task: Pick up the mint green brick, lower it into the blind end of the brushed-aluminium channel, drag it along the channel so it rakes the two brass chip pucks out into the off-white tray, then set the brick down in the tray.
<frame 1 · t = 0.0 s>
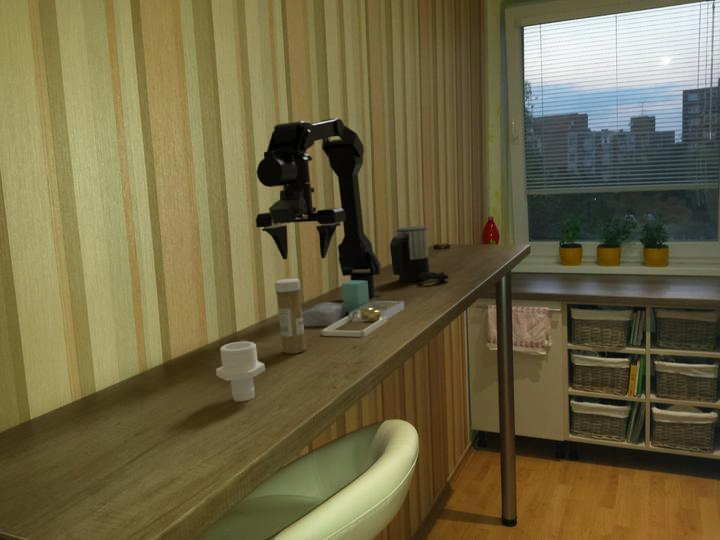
hand: (304, 258, 137), 15 cm above the countertop, fingers open, 9 cm apart
sprinkles bottle: (294, 352, 121), on the countertop
pipe fitting: (244, 398, 98), on the countertop
stone block: (319, 324, 144), on the countertop
channel: (377, 316, 144), on the countertop
chip tray: (355, 330, 133), on the countertop
milk frother: (423, 281, 183), on the countertop
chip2: (374, 319, 139), resting on channel
chip1: (368, 316, 142), resting on channel
mint green brick: (357, 312, 150), on the countertop
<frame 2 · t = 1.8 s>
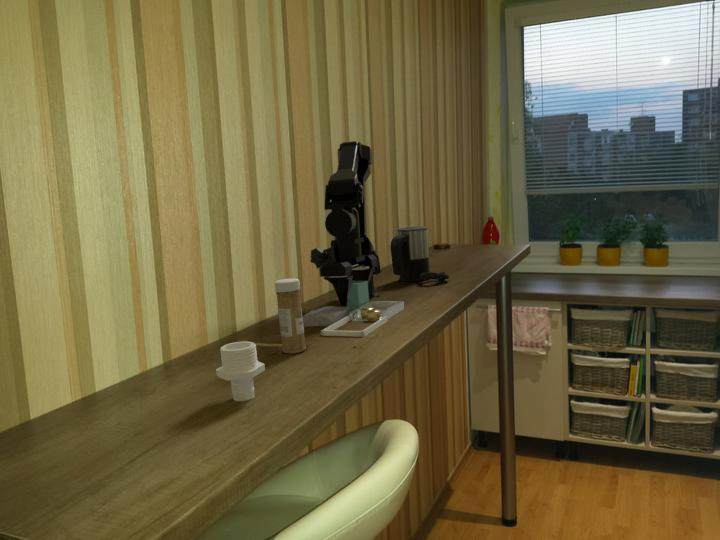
hand: (352, 303, 148), 3 cm above the countertop, fingers open, 8 cm apart
stone block: (323, 327, 143), on the countertop, touching gripper
mint green brick: (357, 312, 150), on the countertop, touching gripper
everything else where it was.
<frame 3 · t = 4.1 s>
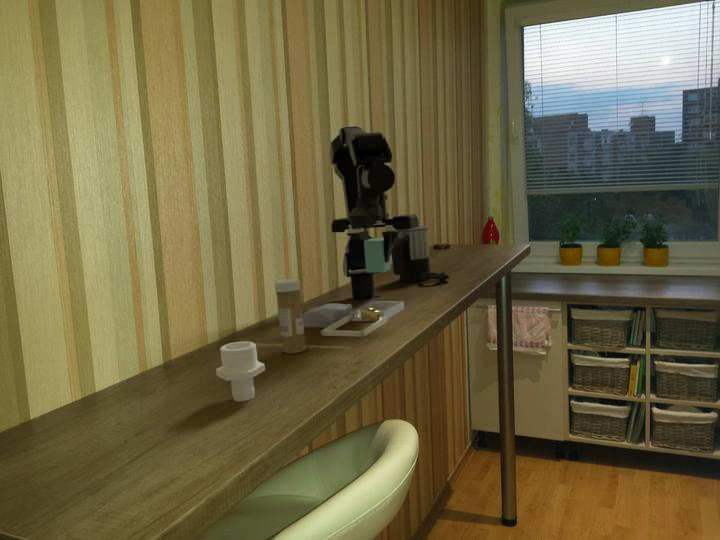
hand: (377, 262, 144), 12 cm above the countertop, fingers closed on mint green brick, 4 cm apart
stone block: (324, 325, 142), on the countertop
mint green brick: (378, 270, 145), point 10 cm above the countertop, touching gripper
everything else where it was.
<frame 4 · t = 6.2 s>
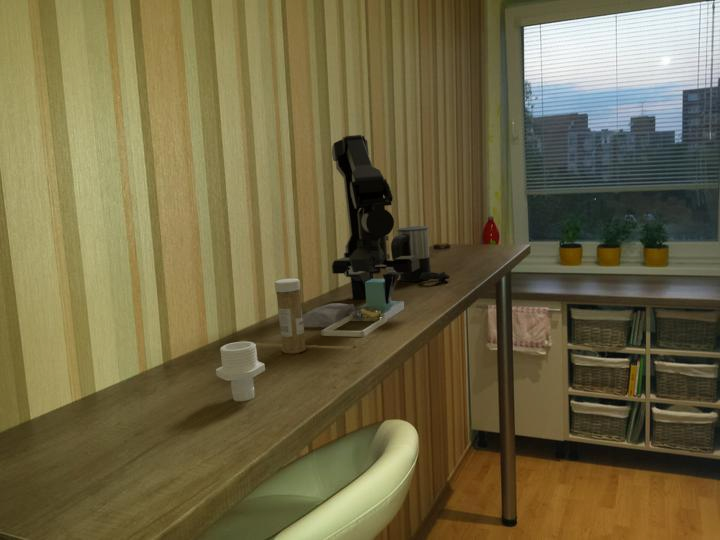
hand: (378, 303, 144), 3 cm above the countertop, fingers closed on mint green brick, 4 cm apart
chip1: (367, 316, 142), point 1 cm above the countertop, touching mint green brick
mint green brick: (379, 311, 145), point 1 cm above the countertop, touching chip1, gripper
everything else where it was.
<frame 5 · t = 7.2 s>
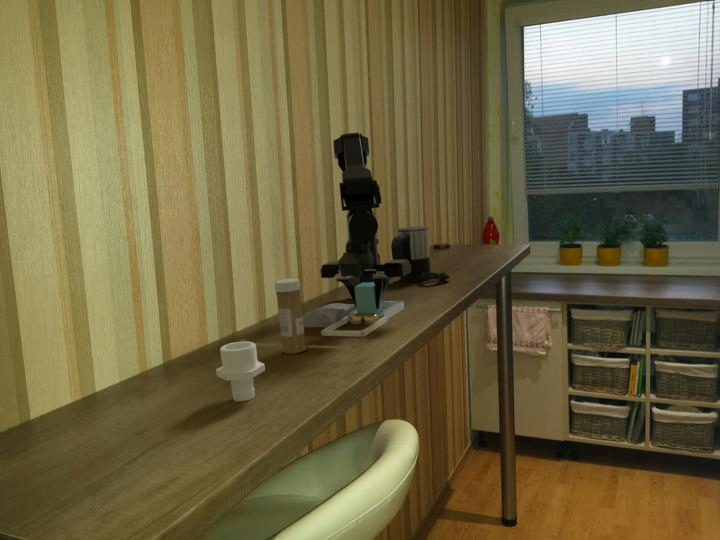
hand: (368, 308, 139), 3 cm above the countertop, fingers closed on mint green brick, 4 cm apart
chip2: (371, 323, 136), resting on chip tray
chip1: (357, 323, 137), resting on chip tray
mint green brick: (370, 316, 140), point 1 cm above the countertop, touching gripper
everything else where it was.
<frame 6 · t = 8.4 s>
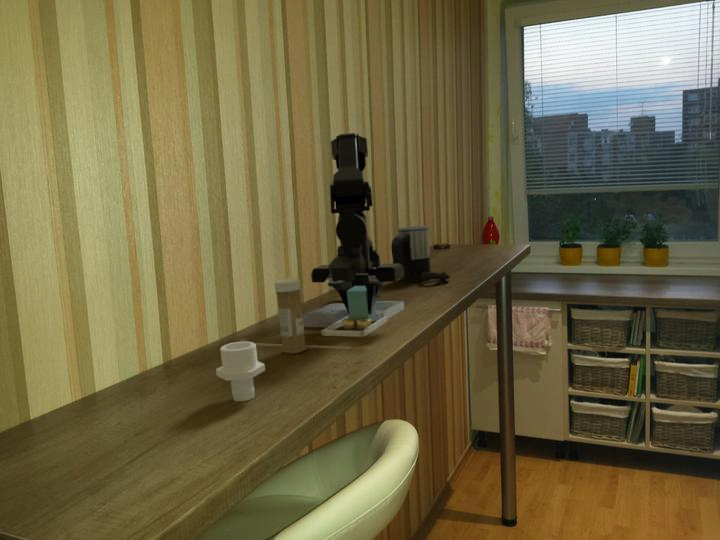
hand: (360, 313, 135), 3 cm above the countertop, fingers closed on mint green brick, 4 cm apart
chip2: (364, 328, 133), resting on chip tray
chip1: (350, 327, 134), resting on chip tray, touching mint green brick
mint green brick: (363, 320, 137), point 1 cm above the countertop, touching chip1, gripper
everything else where it was.
when the fingers open (2 cm above the countertop, at t = 9.3 s): mint green brick stays where it is, resting on channel, chip1, chip tray.
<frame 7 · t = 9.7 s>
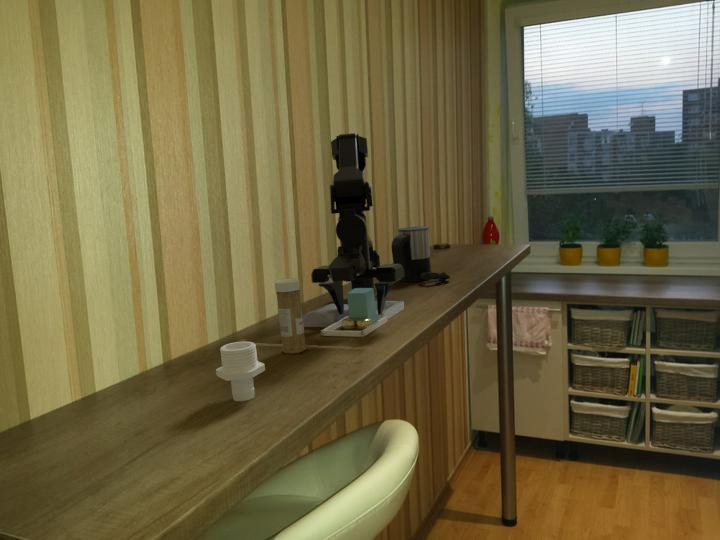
hand: (360, 314, 135), 3 cm above the countertop, fingers open, 8 cm apart
stone block: (326, 325, 142), on the countertop, touching gripper
mint green brick: (363, 323, 137), resting on channel, chip1, chip tray
everything else where it was.
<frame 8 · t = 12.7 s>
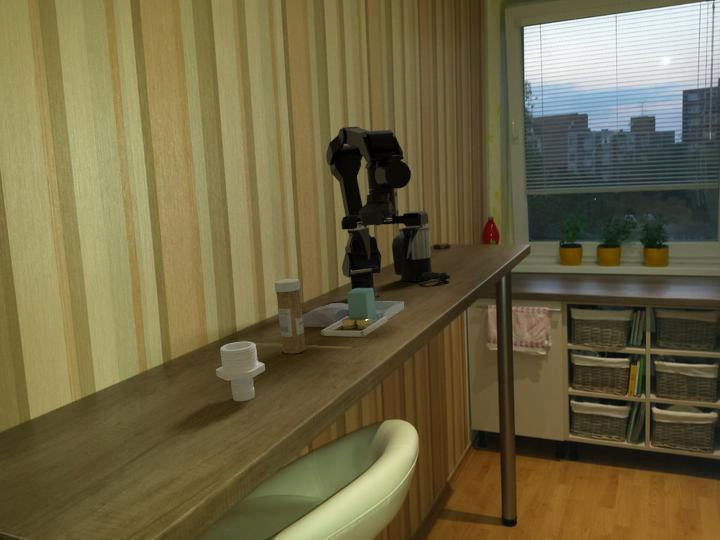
hand: (387, 259, 145), 12 cm above the countertop, fingers open, 9 cm apart
stone block: (327, 324, 142), on the countertop, touching chip tray
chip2: (364, 328, 133), resting on chip tray, touching mint green brick
chip1: (350, 327, 134), resting on chip tray
mint green brick: (363, 323, 137), resting on chip tray, touching channel, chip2
everything else where it was.
at the end: chip1 inside the target area on the chip tray (1.6 cm from its centre), point 0.3 cm above the chip tray's base; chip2 inside the target area on the chip tray (1.8 cm from its centre), point 0.3 cm above the chip tray's base; the gripper is holding nothing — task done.
